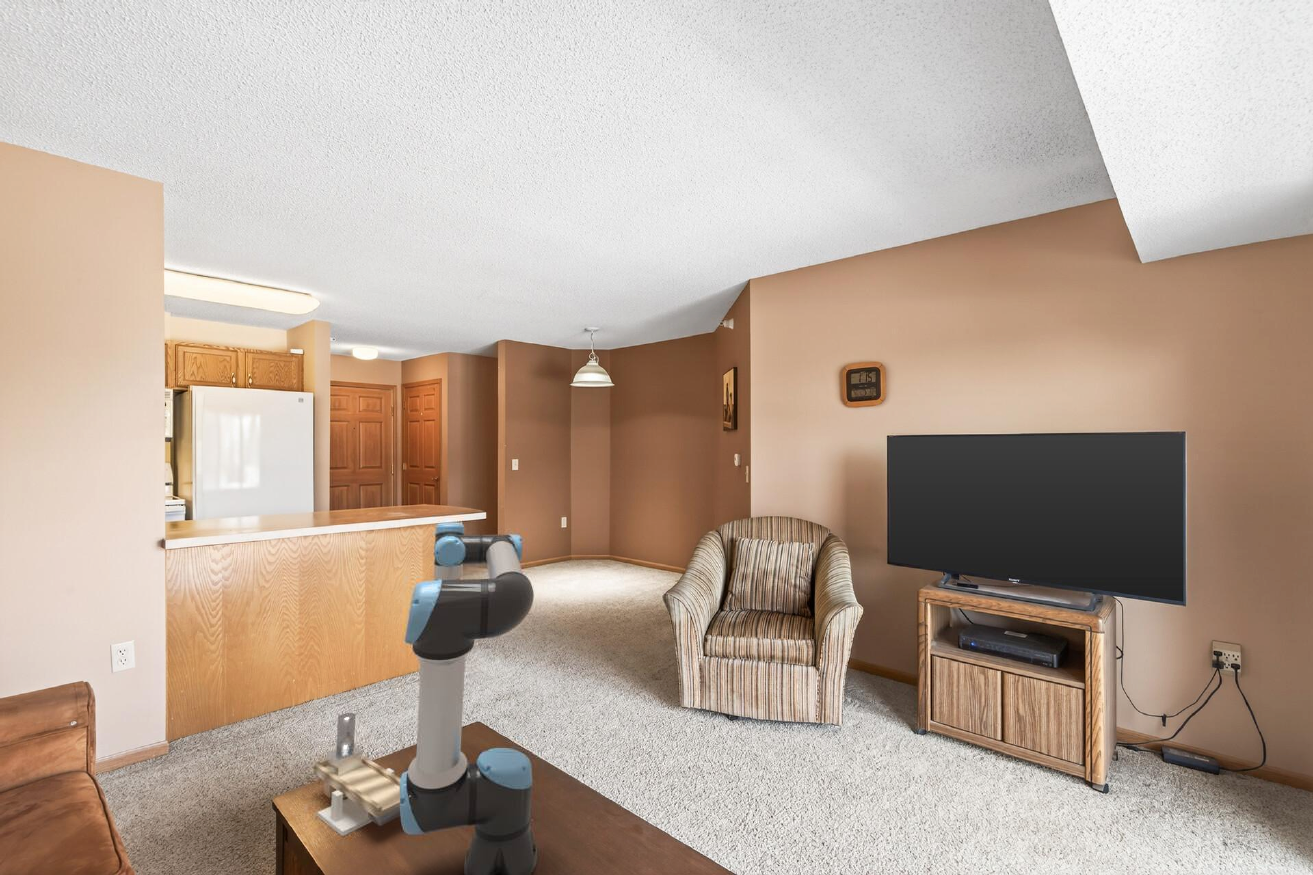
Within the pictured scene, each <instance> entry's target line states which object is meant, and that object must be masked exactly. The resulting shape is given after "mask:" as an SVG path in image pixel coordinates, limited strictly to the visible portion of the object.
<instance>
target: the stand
mask: <svg viewBox="0 0 1313 875" xmlns="http://www.w3.org/2000/svg"><path fill="white" fill-rule="evenodd" d="M385 769H386V770H387V771H389V772H391V773H392V774H394V775H395V770H393V769H392V768H390V767H388V768H385ZM323 783H324V784H323V795H325V796H326V797H328V798H329V799H330V798H331V802H330V804H331V805H330V806H328V807H326V808H324V809H322V810H319V811H317V818H319V819H320V820H321V821H322V822H324V823H325V824H326V825H327V826H328V827H330V828H331V829H333V830H334V831H335V832H336V833H338V834H339V835H340V836H341V837H343V836H345V835H348V834H350V833H352V832H354V831H356V830H358V829H360V828H362V827H364V826H366V825H368V824H370V823H372V822H373V821H372V820H371V819H369V818H368V811H366V810H365V809H363V808H362V807H361V806H359V805H358V804H356V803H355V802H354V801H352V800H351V799H349V798H348V797H347V798H346V799H344V798H343V793H341V792H340V791H339V790H336V789H335V788H334V787H332V786H331V785H329V784H328V783H326V782H325V781H324V780H323Z"/></svg>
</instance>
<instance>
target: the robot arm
mask: <svg viewBox="0 0 1313 875" xmlns="http://www.w3.org/2000/svg"><path fill="white" fill-rule="evenodd" d="M434 537H435V539H434V547H433V556H434V562H433V563H434V564H433V579H434V580H428V581H427V580H426V581H421V582H419V583H417V584H416V585H415V587H414V588H413V592H412V598H411V602H410V607H409V612H408V620H407V624H406V630H405V636H404V643H406V644H408V645H412V653H413V654H414V655H415V656H416V658H417V664H419V681H418V682H419V685H418V686H419V687H418V688H419V689H418V707H417V708H418V709H417V710H418V712H417V713H418V714H417V715H418V716H417V735H416V756H415V757H414V758H413V759H412V761H411V762H410V763H409V766H408V770H407V771H404V772H402V774H401V776H400V778H401V779H400V816H399V817H400V822H401V827H402V830H403V831H404V833H405V834H408V835H410V836H412V835H425V834H426V835H427V834H430V833H434V832H435V833H436V832H440V831H445V830H451V829H457V828H464V827H470V826H474V832H473V835H472V837H471V842H470V845H469V848H468V850H467V851H466V854H465V858H464V868H463V869H464V870H463V871H464V872H463V873H464V875H530V874H531V873H532V872H534V871H535V869H536V867H537V863H538V862H537V859H538V858H537V857H538V851H537V846H536V843H535V842H536V841H535V838H534V836H533V832H532V828H531V808H532V807H531V805H532V803H531V802H532V801H531V800H532V785H533V770H532V768H533V767H532V763H531V760H530V759H529V757H528V756H527V755H526V754H524V753H523V752H522V751H519V750H516V749H514V748H508V747H496V748H489V749H487V750H485V751H484V750H483V751H482V752H481V753H480V754H479V755H478V758H477V759H476V762H469V763H468V759H467V757H466V755H465V754H464V752H462V751H461V747H462V745H461V744H462V730H463V729H462V728H463V711H464V710H463V709H464V707H463V706H464V690H465V676H466V675H465V673H466V672H465V671H466V670H465V669H466V656H467V655H469V653H470V652H472V650H473V649H474V646H475V640H481V639H482V640H483V639H491V638H492V639H493V638H496V637H500V636H503V635H505V634H507V633H509V632H510V631H512V630H514V629H515V628H516V627H518V626H519V625H520V624H521V623H522V622H523V621H524V620H525V619H526V618H527V616H528V614H529V612H530V611H531V609H532V606H533V605H534V604H533V603H534V597H535V595H534V589H533V586H532V585H533V584H532V582H531V580H530V579H529V578H528V577H527V575H525V574H524V573H523V570H522V567H521V564H520V562H521V561H522V556H523V538H522V536H521V535H519V534H510V533H507V534H465V526H464V524H463V523H461V522H440V523H438V524H436V526H435V534H434ZM482 564H483V565H485V564H487V571H488V578H474V579H472V578H471V579H469V578H468V579H467V578H466V579H462V578H463V572H464V568H463V567H464V565H482ZM535 866H536V867H535ZM534 868H535V869H534ZM533 870H534V871H533ZM532 874H533V873H532ZM532 874H531V875H532Z"/></svg>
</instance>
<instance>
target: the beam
mask: <svg viewBox="0 0 1313 875" xmlns="http://www.w3.org/2000/svg"><path fill="white" fill-rule="evenodd" d="M326 768H327V757H326V758H325V759H321V760H319V761H318V763H316V764H314V766H313V774H314V775H315V776H317V777H318V778H320V780H322V781H323V782H324V781H325V782H326V783H328V784H329V785H331V786H332V787H334V788H335V789H336V790H339V791H340V792H341V793H343V799H344V798H346V797H347V799H348V798H349V799H351V800H352V801H354V802H355V803H356V804H358V805H359V806H361V807H362V808H363V809H365V810H366V811H368V818H369V819H371V820H372V822H373V823H375V824H376V825H377V826H380V827H381V826H383V825H384V824H387V823H389V822H391V821H393V820H394V819H396V818H398V817H401V816H400V779H401V777H399V776H397V775H396V774H395V773H394V774H392V773H391V772H389V771H387V770H386V769H387V768H384V767H383V766H381V765H379V764H378V763H376V762H374V761H372V760H371V759H369V758H367V757H366V756H364V755H363V754H362V767H360V768H358V769H355V770H353V771H351V772H348V773H346V774H343V775H341V776H337V775H335V774H334V773H332V772H331V771H329V770H328V769H326Z"/></svg>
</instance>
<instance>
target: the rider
mask: <svg viewBox="0 0 1313 875" xmlns="http://www.w3.org/2000/svg"><path fill="white" fill-rule="evenodd" d="M355 730H356V714H355V712H354V713H353V712H346V713H341V714H339V715H338V716H337V731H336V748H335V749H334V750H331V751H328V752H326V753H327V754H326V758H327V768H326V769H328V770H329V771H331V772H332V773H334V774H335V775H337V776H341V775H343V774H346V773H348V772H351V771H353V770H355V769H358V768H360V767H362V755H363V753H364V752H363V750H361V749H360V748H358V747H357V746H355V734H356V733H355V732H356V731H355Z"/></svg>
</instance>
